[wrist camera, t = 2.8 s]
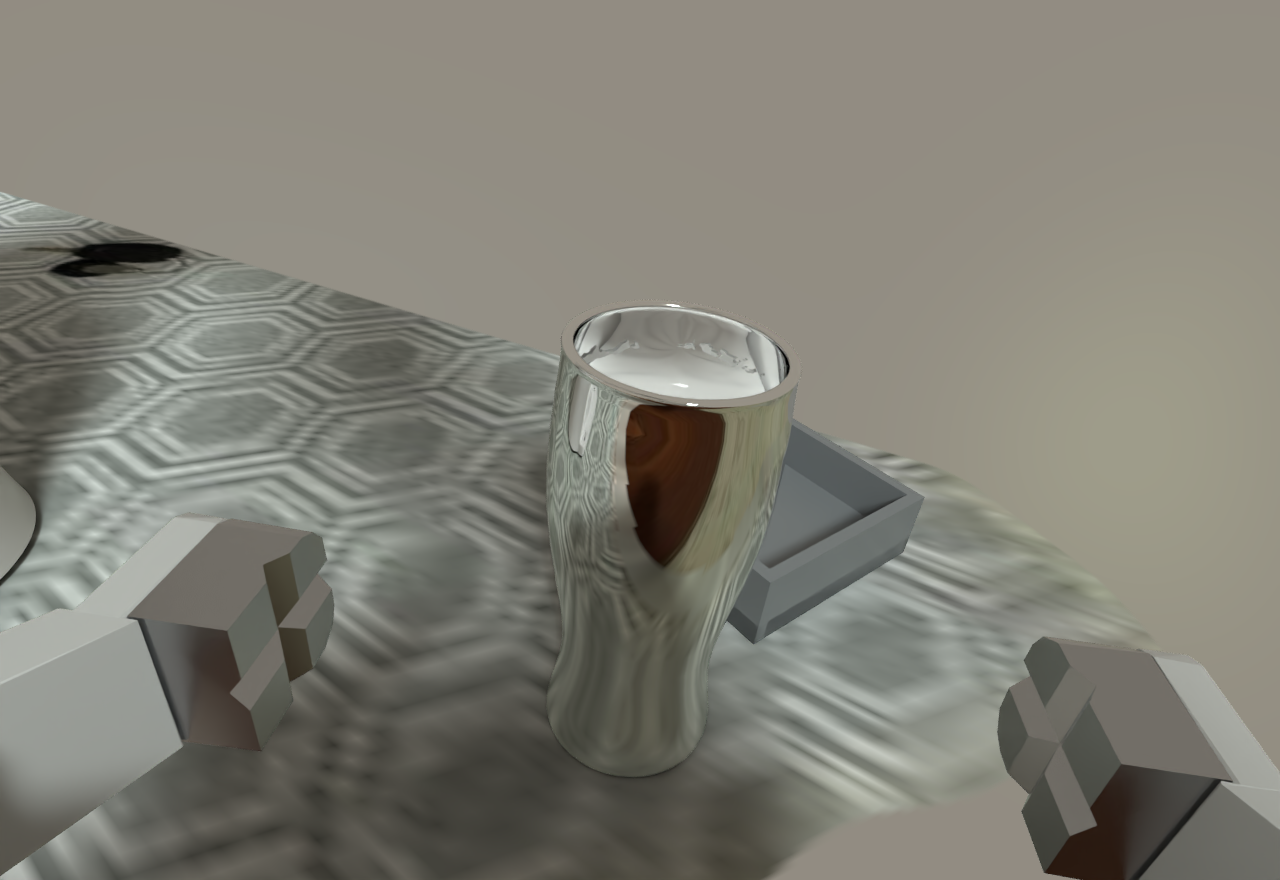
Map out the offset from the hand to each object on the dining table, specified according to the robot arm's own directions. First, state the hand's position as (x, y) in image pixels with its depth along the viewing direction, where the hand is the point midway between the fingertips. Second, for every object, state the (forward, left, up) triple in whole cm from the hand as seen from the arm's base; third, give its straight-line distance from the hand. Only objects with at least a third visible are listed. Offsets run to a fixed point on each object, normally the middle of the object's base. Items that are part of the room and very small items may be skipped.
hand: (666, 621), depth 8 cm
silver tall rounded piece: (+8, +9, -17) cm, 21 cm away
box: (+20, +14, -17) cm, 30 cm away
